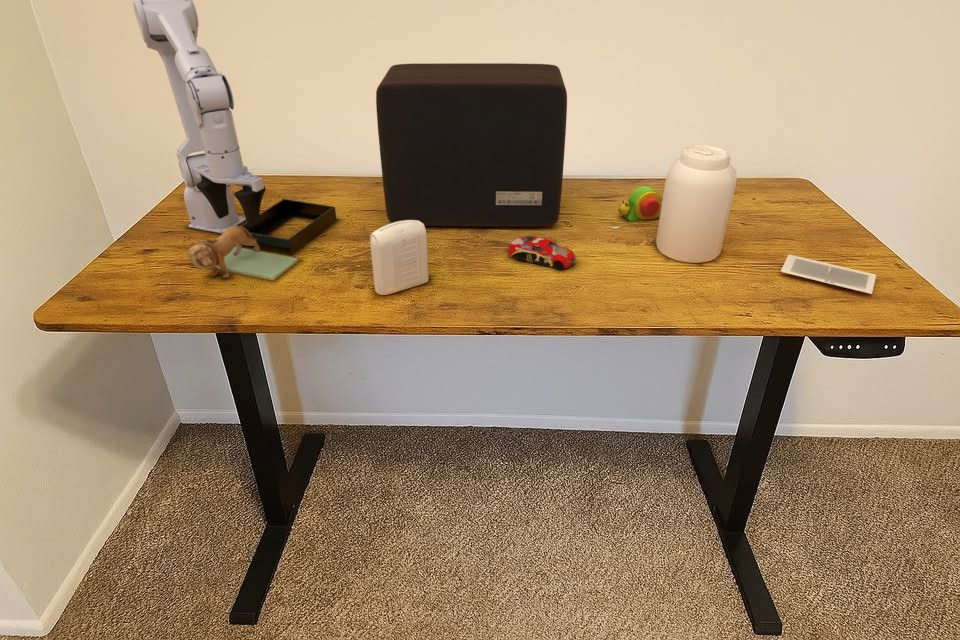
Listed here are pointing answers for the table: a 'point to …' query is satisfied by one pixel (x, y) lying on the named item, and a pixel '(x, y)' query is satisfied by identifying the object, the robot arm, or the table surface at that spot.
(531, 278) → the table surface
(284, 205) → the picture frame
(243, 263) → the sage mat
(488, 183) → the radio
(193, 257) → the lion figurine
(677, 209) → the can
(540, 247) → the race car
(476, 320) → the table surface
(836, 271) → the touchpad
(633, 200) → the toy snail
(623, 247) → the table surface
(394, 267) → the photo printer
